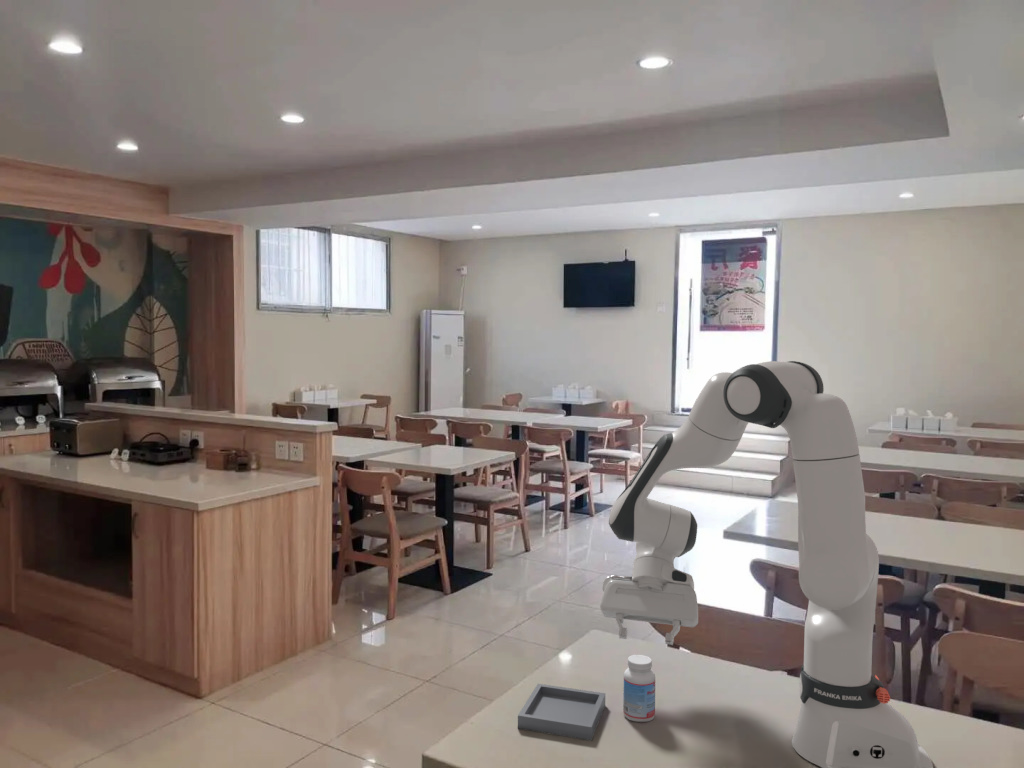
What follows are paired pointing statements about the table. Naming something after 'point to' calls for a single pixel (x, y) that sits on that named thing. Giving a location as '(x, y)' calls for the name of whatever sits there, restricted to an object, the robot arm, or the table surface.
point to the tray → (562, 711)
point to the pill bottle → (639, 689)
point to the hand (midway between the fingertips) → (645, 640)
